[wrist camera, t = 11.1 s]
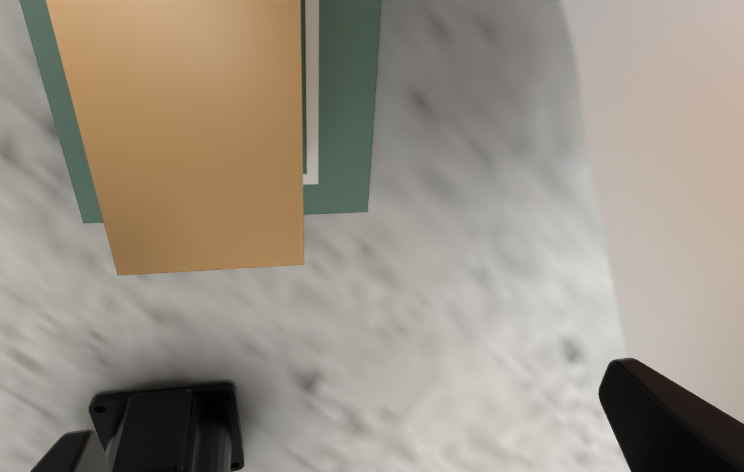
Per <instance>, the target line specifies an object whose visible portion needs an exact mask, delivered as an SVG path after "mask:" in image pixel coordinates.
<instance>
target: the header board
mask: <svg viewBox="0 0 744 472" xmlns="http://www.w3.org/2000/svg"><path fill="white" fill-rule="evenodd" d="M20 3H21V7H22V10H23V14H24V17H25V20H26V24H27V27H28V31H29V34H30V38H31V41H32V45H33V48H34V52H35V55H36V59H37V62H38V66H39V69H40V73H41V76H42V80H43V83H44V87H45V90H46V94H47V97H48V101H49V104H50V108H51V111H52V115H53V118H54V122H55V125H56V129H57V132H58V136H59V139H60V143H61V146H62V150H63V153H64V157H65V160H66V164H67V167H68V171H69V174H70V178H71V181H72V185H73V188H74V192H75V195H76V199H77V202H78V206H79V209H80V213H81V216H82V219H83V223H104V221H103V217H102V214H101V210H100V206H99V202H98V198H97V194H96V191H95V187H94V183H93V179H92V175H91V171H90V168H89V164H88V160H87V156H86V152H85V148H84V145H83V141H82V137H81V133H80V129H79V125H78V121H77V118H76V114H75V110H74V106H73V102H72V98H71V95H70V91H69V87H68V83H67V79H66V75H65V72H64V68H63V64H62V60H61V56H60V52H59V49H58V45H57V41H56V37H55V33H54V29H53V26H52V22H51V18H50V14H49V10H48V6H47V3H46V0H20ZM380 11H381V0H301V73H302V146H303V215H304V214H329V213H354V212H368V197H369V182H370V166H371V151H372V135H373V120H374V104H375V89H376V73H377V57H378V42H379V26H380Z"/></svg>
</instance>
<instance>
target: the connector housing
mask: <svg viewBox="0 0 744 472" xmlns="http://www.w3.org/2000/svg"><path fill="white" fill-rule="evenodd" d="M46 3H47V6H48V10H49V14H50V18H51V22H52V26H53V29H54V33H55V37H56V41H57V45H58V49H59V52H60V56H61V60H62V64H63V68H64V72H65V75H66V79H67V83H68V87H69V91H70V95H71V98H72V102H73V106H74V110H75V114H76V118H77V121H78V125H79V129H80V133H81V137H82V141H83V145H84V148H85V152H86V156H87V160H88V164H89V168H90V171H91V175H92V179H93V183H94V187H95V191H96V194H97V198H98V202H99V206H100V210H101V214H102V217H103V221H104V225H105V229H106V233H107V237H108V240H109V244H110V248H111V252H112V256H113V260H114V263H115V267H116V271H117V275H134V274H151V273H168V272H186V271H203V270H220V269H237V268H255V267H272V266H289V265H304V220H303V146H302V73H301V0H46Z"/></svg>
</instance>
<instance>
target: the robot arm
mask: <svg viewBox="0 0 744 472" xmlns="http://www.w3.org/2000/svg"><path fill="white" fill-rule="evenodd" d="M224 393H226V394H224ZM599 399H600V402H601V405H602V407H603V409H604V412H605V414H606V416H607V419H608V421H609V423H610V425H611V428H612V430H613V432H614V434H615V437H616V439H617V441H618V443H619V446H620V448H621V450H622V453H623V455H624V457H625V459H626V462H627V464H628V466H629V468H630V470H631V472H744V424H743V423H741V422H739V421H738V420H736V419H734V418H733V417H731V416H730V415H728V414H726V413H724V412H723V411H721V410H720V409H718V408H716V407H715V406H713V405H711V404H710V403H708V402H706V401H705V400H703V399H701V398H700V397H698V396H696V395H695V394H693V393H691V392H690V391H688V390H686V389H685V388H683V387H681V386H680V385H678V384H676V383H675V382H673V381H671V380H670V379H668V378H666V377H665V376H663V375H661V374H660V373H658V372H656V371H655V370H653V369H651V368H650V367H648V366H646V365H645V364H643V363H641V362H640V361H638V360H636V359H633V358H623V359H616V360H612V361H611V362H610V363H609V364H608V367H607V369H606V372H605V374H604V377H603V379H602V382H601V384H600V387H599ZM89 413H90V416H91V418H92V421H93V424H94V426H95V429H96V432H97V433H96V432H95V431H94V430H90V429H88V430H81V431H73V432H68V433H66V434H64V435H63V436H62V437H61V438H60V439H59V440H58V441H57V442H56V443H55V444H54V445H53V446H52V448H51V449H50V450H49V451H48V452H47V453H46V454H45V455H44V457H43V458H42V459H41V460H40V461H39V462H38V463H37V464H36V466H35V467H34V468H33V469H32V470H31V471H30V472H232V471H237V470H240V469H242V468H243V467H244V450H243V442H242V434H241V425H240V417H239V409H238V401H237V393H236V388H235V386H234V385H233V384H230V383H219V384H209V385H199V386H189V387H178V388H168V389H158V390H148V391H138V392H128V393H117V394H107V395H99V396H96V397H94V398H93V399H92V400H91V402H90V405H89Z"/></svg>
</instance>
